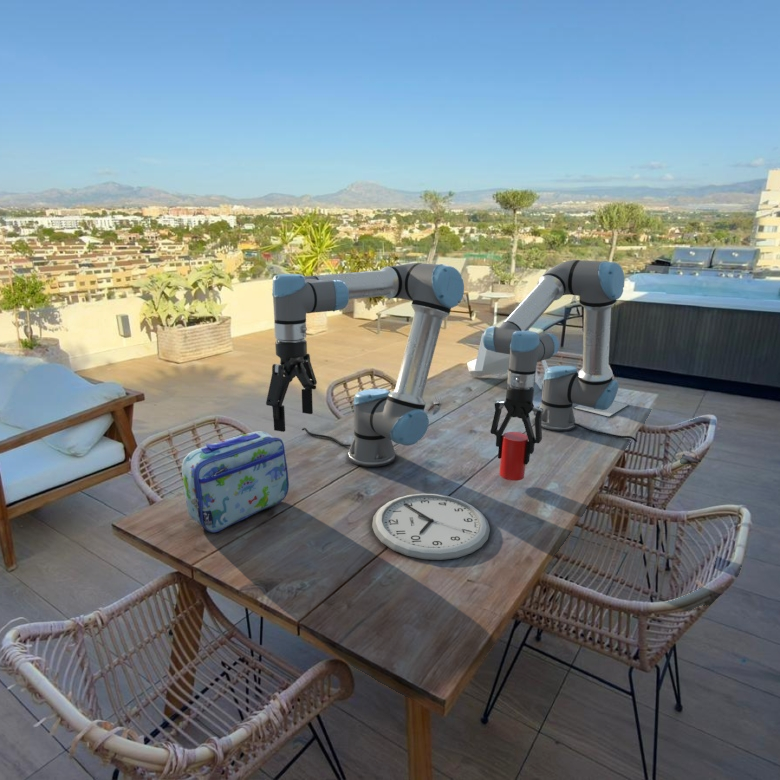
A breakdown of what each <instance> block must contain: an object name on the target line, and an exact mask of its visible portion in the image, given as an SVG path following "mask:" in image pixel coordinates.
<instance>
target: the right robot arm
mask: <svg viewBox="0 0 780 780" xmlns="http://www.w3.org/2000/svg"><path fill="white" fill-rule="evenodd" d="M624 288H625V273H624V270H623V268H622V266H621V265H620V264H619V263H617V262H612V261H607V260H603V261H602V260H582V259H581V260H580V259H571V260H570V259H569V260H566V261H563V262H560V263H558V264H557V265H555V266H553V267H551V268H550V269H548V270H547V271H546V272H545V273H543V274H542V275H541V276H540V277H539V279H538V280H537V282H536V286H535V287H534V288H533V289H532V291H530V293H529V294H528V295H527V296H526V297H525V298H524V299H523V301H521V302H520V304H519V305H518V306H517V307H516V308H515V309H514V310H513V311H512V312H511V314H509V316H507V318H506V319H505V320H504V321H503V322H502V323H501V324H500V325H499V326H490V327H487V328H486V329H485V330H484V332H483V333H484V335H483V345H484V347H485V348H486V349H487V350H490V351H494V352H498V353H504V354H510V360H509V370H507V371H508V374H507V382H506V383H507V386H506V392H505V393H506V394H505V400H504V401H501V400H497V401H496V402H495V403H494V414H493V418H492V422H491V426H490V427H491V428H490V434H491V435H495V438H496V439H495V447H497V448H498V451H497V452H498V453H497V459H499V460H501V452H502V441H503V434H504V433H505V430H506V428H507V426H508V424H509V422H510V421H511V419H512V418H518V419H521V422H522V423H523V426H524V430H525V434H526V435H527V437H528V442H527V443H526V452H525V461H524V464H525V466H527V465H528V464H529V463H530V459H531V458H530V457H531V455H532V454H533V453H534V452H535V444H540V443H541V441H542V440H543V429H544V430H549V431H556V432H567V431H572V430H574V429H575V428H576V426H577V427H578V428H582V429H583V430H585V431H588V432H591V433H593V434H594V433H595V434H599V435H605V436H609V437H615V438H620V439H631V440H633V441H634V442H636V443H638V440H637V438H635V437H634V436H631V435H619V434H615V433H609V432H604V431H599V430H594V429H591V428H588V427H586V426H583V425H582V424H578V423H576V418H575V417H576V416H575V413H574V407H573V405H574V404H575V405H577V406H578V405H583V406H587V407H591V408H594V409H600V410H606V409H608V408H609V407H610V406H611V404H612V403H613V401H614V402H615V399H616V397H617V394H618V391H619V385H620V384H619V381H618V379H613V378H614V377H613V375H614V374H613V371H612V370H611V369H609V362H610V344H611V343H610V340H611V321H612V319H611V317H612V307H613V306H614V305H615V304H616V303H617V300H619V299H620V298H621V297H622V295H623V293H624ZM568 295H569V296H570V295H571V296H578V297H579V298H578V299H579V300H578V302H579V304H580V306H581V307H582V308H583V329H582V330H583V333H582V335H583V337H582V338H583V339H582V368H581V369H579V371H578V368H577V366H572V365H555V366H554V365H553V366H550V367H548V369H546V371H545V370H544V375H543V381H542V382H543V383H542V390H541V391H542V394H541V402H540V405H539V406H535V405H534V394H535V388H534V387H535V385H536V382H535V375H536V370H537V365H538V363H539V362H542V360H546V361H547V360H549V359H550V358H552V357H554V356H555V355H557V353H558V352H559V350H560V342H559V341H560V340H559V338H558V337H557V336H556V335H555V334H554V333H551V332H541V333H538V332H536V331H533V330H531V328H532V327H533V326H534V324H535V323H536V322H537V321H538V320H539V319H540V317H541V316H543V314H544V313H545V312H546V311H547V310H548V309H549V307H550V306H551V305H552V304H553V303H554V302H555V301H558V300H560V299H562V297H563V296H568ZM528 330H529V331H528ZM503 408H505V410H506V411H507V413H506V414H505V417H504V419H503V421H502V422H501V425H500V427H499V423H500V419H501V414H502V410H503ZM531 412H533V415H534V416H535V417H534V429H533V426H532V422H531V417H530V413H531ZM534 432H535V433H534Z"/></svg>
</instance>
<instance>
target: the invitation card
mask: <svg viewBox="0 0 780 780" xmlns="http://www.w3.org/2000/svg"><path fill="white" fill-rule="evenodd" d="M628 406H629V404H627V403H623V402H618V401H615V400H614V401H613V403H612V404H611V406H610V407H609V408H608V409H606V410H600V409H594V408H591V407H587V406H583V405H578V404H577V405H575V406H574V407H573V409H575V410H581V411H584V412H587V413H593V414H596V415H600V416H604V417H608V418H609V417H611V416H613V415H614V414H616V413H617V412H619V411H621V410H623V409H624V408H626V407H628Z"/></svg>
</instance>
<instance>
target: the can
mask: <svg viewBox="0 0 780 780" xmlns="http://www.w3.org/2000/svg"><path fill="white" fill-rule="evenodd" d="M502 435H503V441H502V452H501V458H500V463H499V476H500V477H501V478H502V479H504V480H507V481H512V482H516V481H517V482H518V481H522V480H523V479H524V478H525V475H526V465H525V464H524V461H525V452H526V443H527V442H528V441H529V440H528V437H527V434H526V433H524V432H523V433H522V432H518V431H507V432H503V434H502Z"/></svg>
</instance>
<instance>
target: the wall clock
mask: <svg viewBox="0 0 780 780" xmlns="http://www.w3.org/2000/svg"><path fill="white" fill-rule="evenodd" d="M371 527H372V530H373V533H374V535H375V537H376V538H377V539H378V540H379V541H380V543H381V544H383V545H385V546H386V547H387V548H389V549H390V550H392V551H393V552H397V553H399V554H402V555H404V556H406V557H411V558H416V559H421V560H433V561H435V560H437V561H443V560H444V561H445V560H451V559H452V560H453V559H458V558H461V557H465V556H468V555H470V554H473V553H474V552H476V551H477V550H479V549H481V548H482V547H483V546H484V545H485V543H486V542H487V541H488V540H489V536H490V532H491V528H490V524H489V521H488V519H487V518H486V516H485V515H484V514H483V512H481V511H480V510H479V509H477V508H476V507H475V506H473V505H472V504H470V503H468V502H466V501H464V500H461V499H459V498H455V497H452V496H449V495H444V494H437V493H416V494H407V495H404V496H399V497H396V498H395V499H392V500H390V501H388V502H386V503H385V504H383V505H382V506H381V507H379V508H378V509H377V511H376V512H375V513H374V515H373V517H372V524H371Z"/></svg>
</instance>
